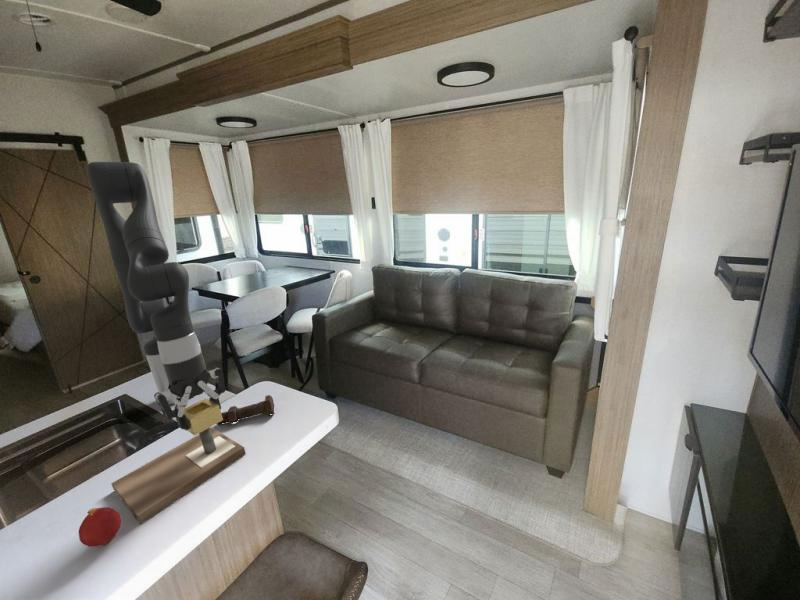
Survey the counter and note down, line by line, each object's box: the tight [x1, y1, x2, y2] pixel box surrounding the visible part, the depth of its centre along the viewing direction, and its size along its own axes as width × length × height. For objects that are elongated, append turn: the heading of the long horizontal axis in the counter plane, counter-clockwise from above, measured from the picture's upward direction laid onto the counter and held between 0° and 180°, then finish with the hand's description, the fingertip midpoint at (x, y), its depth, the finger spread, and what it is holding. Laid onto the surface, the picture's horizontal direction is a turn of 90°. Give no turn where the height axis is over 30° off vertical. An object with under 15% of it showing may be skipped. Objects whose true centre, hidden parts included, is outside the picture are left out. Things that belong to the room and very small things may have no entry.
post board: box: [110, 426, 247, 525], centre depth 80 cm, size 16×22×8 cm
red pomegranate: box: [78, 506, 122, 547], centre depth 63 cm, size 6×6×8 cm
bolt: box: [216, 394, 275, 425], centre depth 99 cm, size 6×5×15 cm
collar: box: [184, 398, 223, 436], centre depth 81 cm, size 6×6×4 cm
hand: (201, 420), depth 81 cm, fingers closed on collar, 6 cm apart
